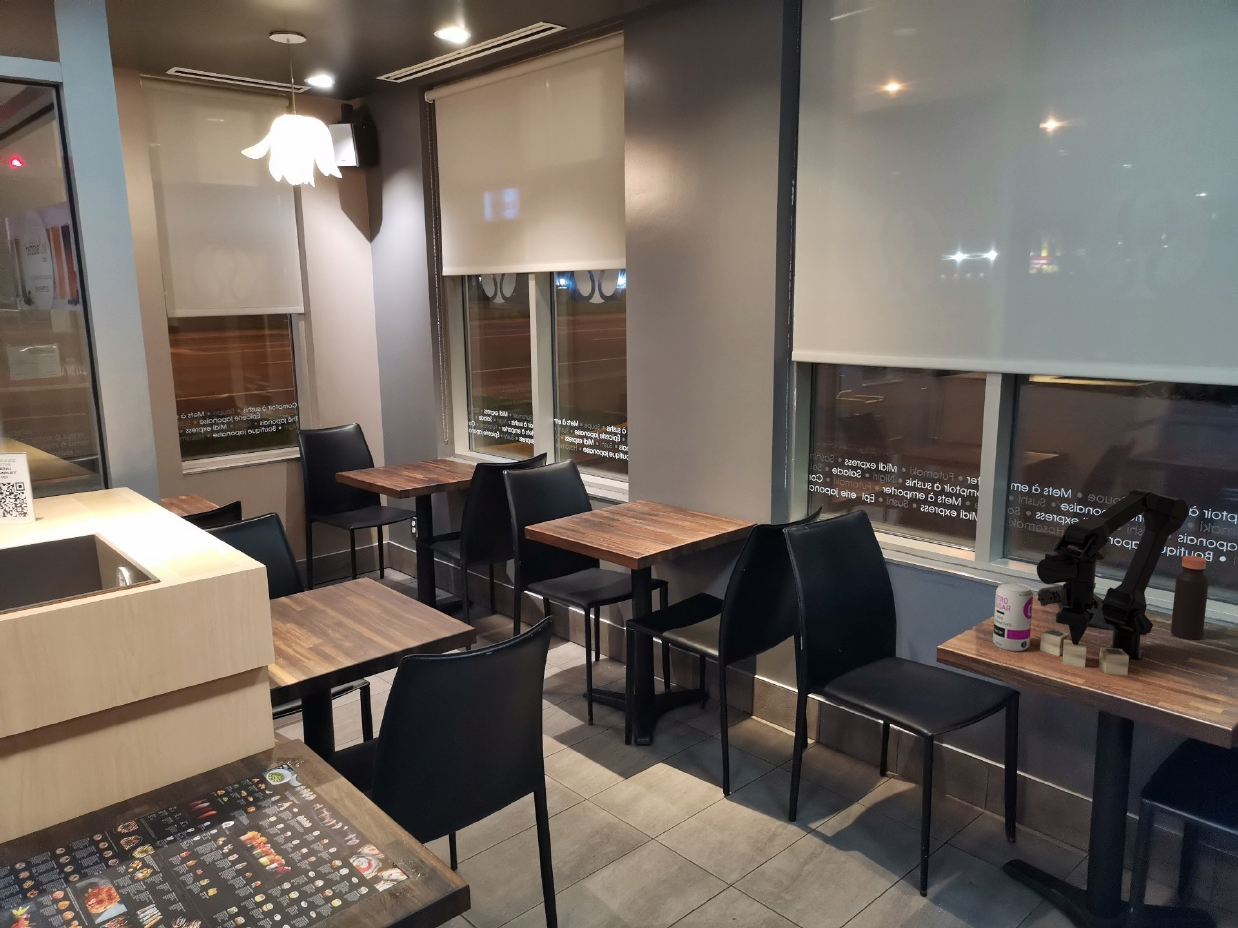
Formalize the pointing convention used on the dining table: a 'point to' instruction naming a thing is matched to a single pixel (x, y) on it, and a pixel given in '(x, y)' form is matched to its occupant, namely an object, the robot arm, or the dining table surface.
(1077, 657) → the plain block
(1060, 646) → the labelled block
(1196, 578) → the bottle
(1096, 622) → the dark slate chunk
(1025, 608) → the supplement can
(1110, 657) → the labelled block
